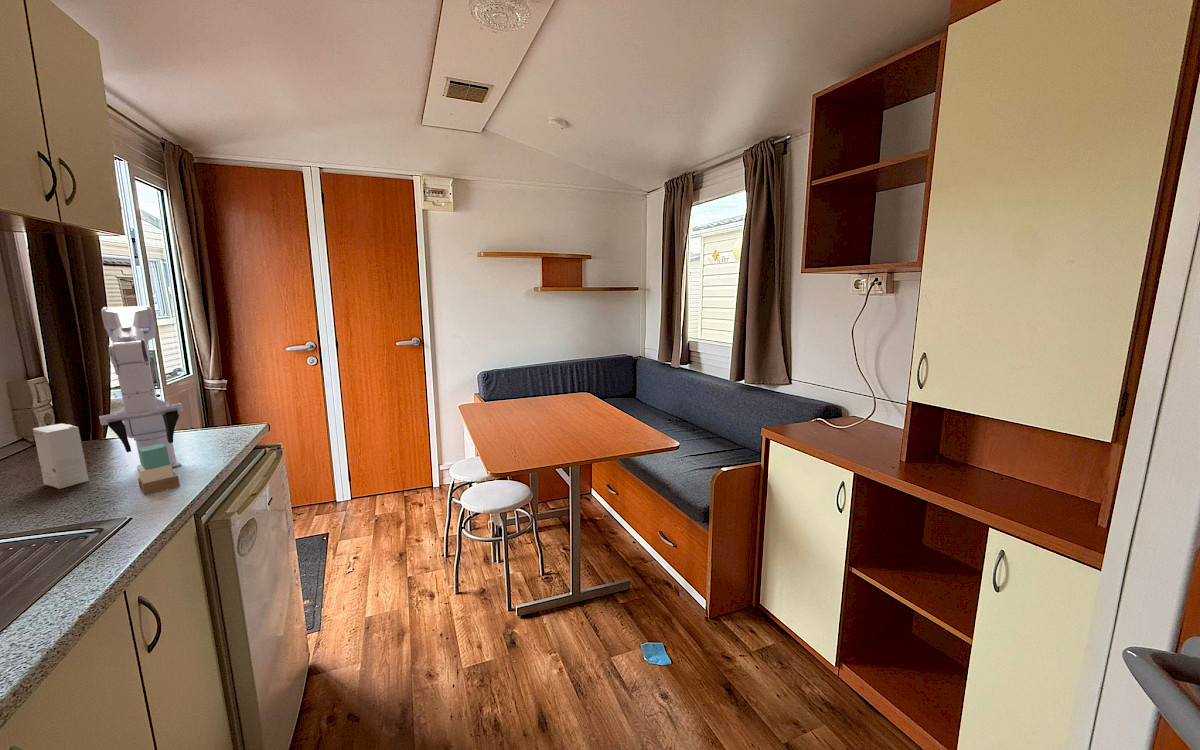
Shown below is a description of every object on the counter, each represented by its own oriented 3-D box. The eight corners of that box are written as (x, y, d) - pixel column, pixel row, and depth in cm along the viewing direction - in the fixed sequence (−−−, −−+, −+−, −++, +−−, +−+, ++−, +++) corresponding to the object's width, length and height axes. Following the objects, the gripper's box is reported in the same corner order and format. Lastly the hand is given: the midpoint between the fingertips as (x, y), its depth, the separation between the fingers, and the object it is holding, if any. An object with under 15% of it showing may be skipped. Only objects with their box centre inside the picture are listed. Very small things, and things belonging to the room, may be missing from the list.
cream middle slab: (140, 478, 120) (137, 466, 119) (169, 471, 124) (166, 460, 123) (143, 483, 116) (140, 471, 116) (173, 476, 120) (171, 464, 120)
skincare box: (43, 485, 125) (28, 428, 122) (75, 476, 130) (62, 422, 128) (60, 489, 122) (45, 431, 119) (92, 480, 127) (78, 424, 124)
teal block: (142, 466, 120) (138, 448, 119) (166, 460, 123) (162, 443, 122) (145, 470, 117) (141, 451, 116) (170, 464, 120) (166, 446, 119)
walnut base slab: (140, 489, 121) (137, 478, 120) (174, 481, 125) (172, 469, 125) (145, 496, 116) (142, 484, 116) (180, 487, 121) (177, 475, 121)
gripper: (97, 400, 109) (111, 458, 111) (181, 387, 120) (192, 441, 122) (93, 396, 113) (106, 452, 116) (174, 384, 124) (185, 436, 127)
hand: (150, 446), depth 119 cm, fingers open, 7 cm apart
